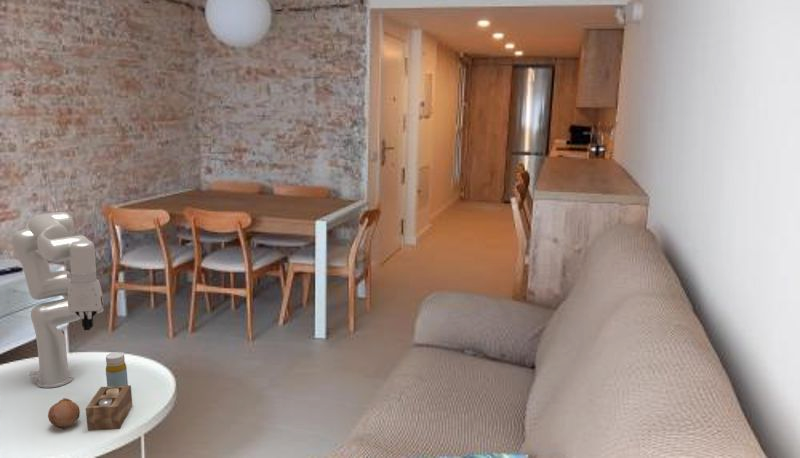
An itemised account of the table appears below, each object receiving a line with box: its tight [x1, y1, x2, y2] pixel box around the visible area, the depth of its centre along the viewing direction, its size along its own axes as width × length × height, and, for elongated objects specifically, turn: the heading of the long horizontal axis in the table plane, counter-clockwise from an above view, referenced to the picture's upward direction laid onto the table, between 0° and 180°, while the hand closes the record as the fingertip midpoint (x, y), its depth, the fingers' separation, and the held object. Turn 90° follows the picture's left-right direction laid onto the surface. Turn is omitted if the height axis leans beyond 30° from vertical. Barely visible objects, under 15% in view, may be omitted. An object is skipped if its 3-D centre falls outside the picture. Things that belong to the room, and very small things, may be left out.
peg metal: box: [99, 398, 112, 406], centre depth 216 cm, size 4×4×8 cm
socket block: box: [85, 384, 134, 432], centre depth 220 cm, size 10×16×8 cm, turn 8°
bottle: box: [105, 351, 129, 387], centre depth 238 cm, size 7×7×15 cm
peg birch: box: [106, 388, 119, 395], centre depth 224 cm, size 4×4×8 cm
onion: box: [47, 397, 81, 430], centre depth 215 cm, size 10×9×10 cm
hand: (88, 328), depth 220 cm, fingers closed
